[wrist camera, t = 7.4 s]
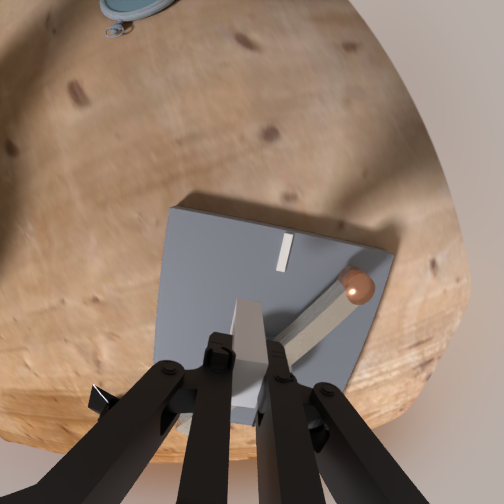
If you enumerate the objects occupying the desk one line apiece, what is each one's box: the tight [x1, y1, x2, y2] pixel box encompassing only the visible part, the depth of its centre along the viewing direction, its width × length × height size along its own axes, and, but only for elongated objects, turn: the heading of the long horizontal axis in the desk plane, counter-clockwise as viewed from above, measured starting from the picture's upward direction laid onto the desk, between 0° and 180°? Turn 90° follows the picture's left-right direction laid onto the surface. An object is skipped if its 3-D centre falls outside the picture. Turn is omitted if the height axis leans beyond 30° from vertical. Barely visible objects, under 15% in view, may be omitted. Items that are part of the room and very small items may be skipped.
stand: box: [154, 206, 394, 426], centre depth 27 cm, size 20×22×2 cm
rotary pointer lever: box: [175, 266, 375, 437], centre depth 24 cm, size 7×23×5 cm, turn 136°
